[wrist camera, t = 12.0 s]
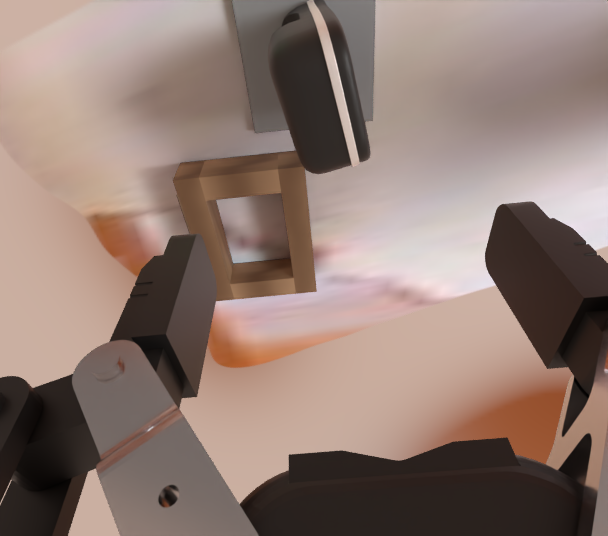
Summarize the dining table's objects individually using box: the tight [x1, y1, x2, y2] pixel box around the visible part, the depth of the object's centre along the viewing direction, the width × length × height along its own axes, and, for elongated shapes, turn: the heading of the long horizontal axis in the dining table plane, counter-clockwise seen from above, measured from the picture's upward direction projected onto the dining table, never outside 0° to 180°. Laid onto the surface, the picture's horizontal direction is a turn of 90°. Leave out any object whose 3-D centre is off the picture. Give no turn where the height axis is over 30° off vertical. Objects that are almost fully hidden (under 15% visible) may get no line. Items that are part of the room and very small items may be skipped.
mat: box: [232, 0, 375, 133], centre depth 27 cm, size 9×9×1 cm
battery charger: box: [268, 0, 370, 174], centre depth 22 cm, size 7×4×11 cm, turn 17°
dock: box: [173, 151, 317, 301], centre depth 35 cm, size 10×13×3 cm
